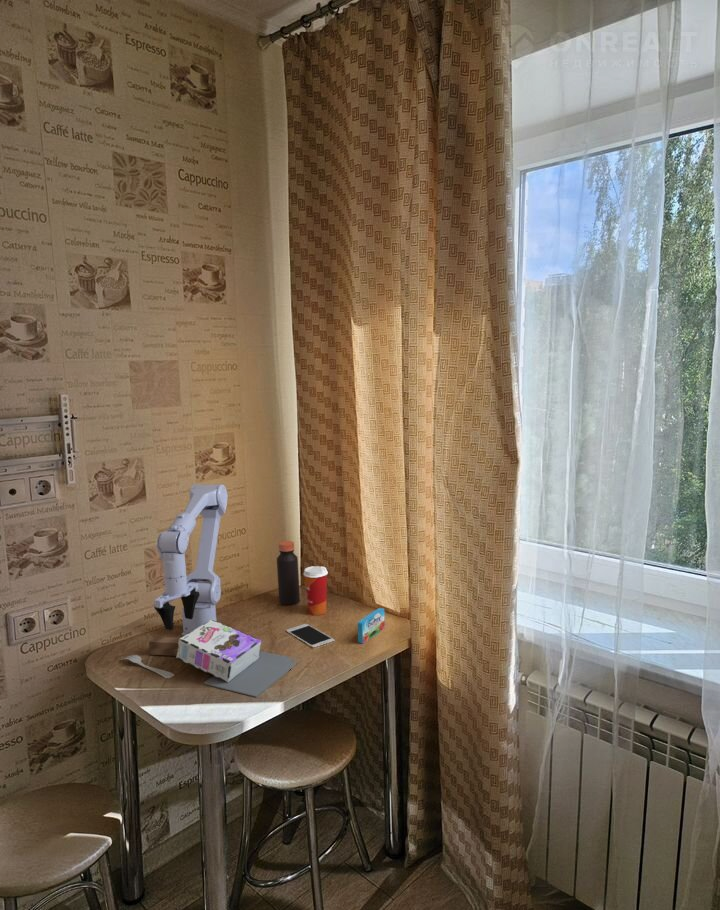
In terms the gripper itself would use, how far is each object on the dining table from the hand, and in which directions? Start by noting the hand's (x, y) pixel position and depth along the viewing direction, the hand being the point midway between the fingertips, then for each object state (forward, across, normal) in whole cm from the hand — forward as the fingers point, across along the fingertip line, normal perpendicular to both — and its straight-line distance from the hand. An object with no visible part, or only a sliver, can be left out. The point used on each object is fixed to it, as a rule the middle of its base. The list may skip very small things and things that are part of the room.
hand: (179, 623), depth 172 cm
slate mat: (+9, 0, -24) cm, 26 cm away
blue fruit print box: (+10, +31, -42) cm, 53 cm away
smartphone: (+10, +24, -26) cm, 37 cm away
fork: (+10, -9, +4) cm, 14 cm away
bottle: (+10, +44, -6) cm, 45 cm away
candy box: (+6, -1, -22) cm, 23 cm away
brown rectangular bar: (+9, +1, +1) cm, 9 cm away
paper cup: (+9, +40, -19) cm, 45 cm away
